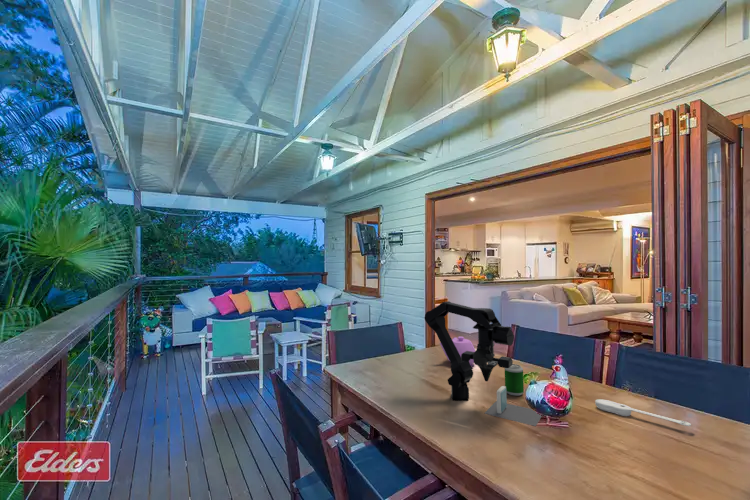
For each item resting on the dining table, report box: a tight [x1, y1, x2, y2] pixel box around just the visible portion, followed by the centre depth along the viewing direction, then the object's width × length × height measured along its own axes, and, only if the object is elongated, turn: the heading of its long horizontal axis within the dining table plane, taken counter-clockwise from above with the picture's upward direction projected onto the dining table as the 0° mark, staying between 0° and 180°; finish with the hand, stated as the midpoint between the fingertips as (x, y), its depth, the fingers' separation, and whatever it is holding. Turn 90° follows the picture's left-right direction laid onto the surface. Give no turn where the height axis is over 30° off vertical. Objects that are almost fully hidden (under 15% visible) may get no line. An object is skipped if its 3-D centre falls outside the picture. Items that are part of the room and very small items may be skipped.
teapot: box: [439, 335, 476, 367], centre depth 197 cm, size 20×20×15 cm
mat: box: [484, 400, 543, 427], centre depth 132 cm, size 18×14×1 cm
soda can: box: [504, 363, 525, 397], centre depth 151 cm, size 8×8×12 cm
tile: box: [496, 385, 508, 414], centre depth 134 cm, size 2×7×8 cm, turn 144°
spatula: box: [594, 398, 692, 427], centre depth 126 cm, size 28×6×3 cm, turn 39°
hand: (486, 381), depth 138 cm, fingers closed
